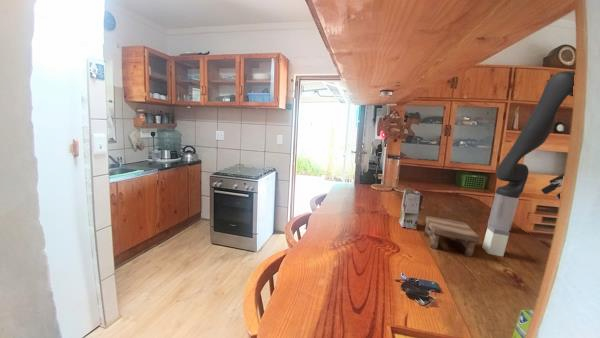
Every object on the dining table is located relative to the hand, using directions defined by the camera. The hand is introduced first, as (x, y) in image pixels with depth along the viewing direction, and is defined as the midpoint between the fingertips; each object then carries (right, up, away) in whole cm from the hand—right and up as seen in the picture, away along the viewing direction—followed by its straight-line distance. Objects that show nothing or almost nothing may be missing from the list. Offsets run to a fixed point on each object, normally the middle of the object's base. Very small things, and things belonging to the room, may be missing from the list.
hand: (550, 194), depth 94 cm
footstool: (-32, -21, +10) cm, 39 cm away
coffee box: (-41, -17, +26) cm, 52 cm away
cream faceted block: (-15, -23, +8) cm, 29 cm away
